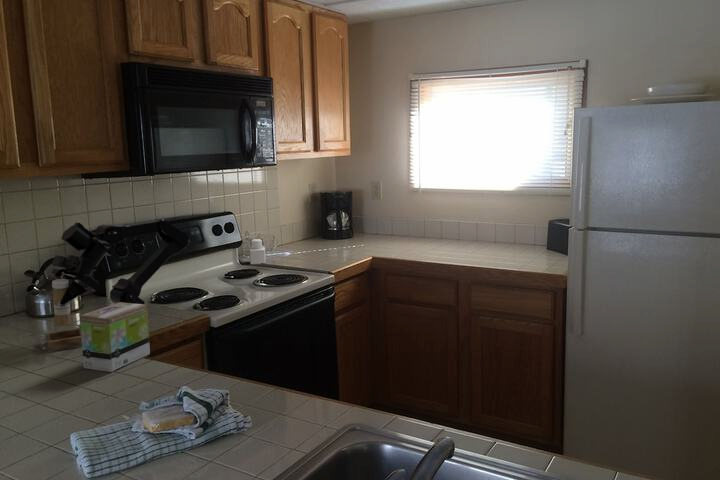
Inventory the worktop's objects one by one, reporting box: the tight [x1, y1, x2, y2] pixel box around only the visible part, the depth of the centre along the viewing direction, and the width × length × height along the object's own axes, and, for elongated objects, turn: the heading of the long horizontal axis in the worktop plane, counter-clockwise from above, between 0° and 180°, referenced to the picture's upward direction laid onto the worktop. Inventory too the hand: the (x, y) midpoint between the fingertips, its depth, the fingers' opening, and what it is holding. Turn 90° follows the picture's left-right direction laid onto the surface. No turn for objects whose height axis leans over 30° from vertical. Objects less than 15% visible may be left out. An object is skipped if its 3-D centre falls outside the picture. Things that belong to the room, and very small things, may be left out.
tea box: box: [79, 302, 151, 373], centre depth 165 cm, size 15×10×15 cm
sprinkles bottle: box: [51, 278, 72, 327], centre depth 180 cm, size 5×5×14 cm
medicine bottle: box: [249, 237, 267, 265], centre depth 301 cm, size 7×7×12 cm
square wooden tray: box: [45, 327, 82, 353], centre depth 182 cm, size 10×10×3 cm
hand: (57, 303), depth 179 cm, fingers closed on sprinkles bottle, 4 cm apart
